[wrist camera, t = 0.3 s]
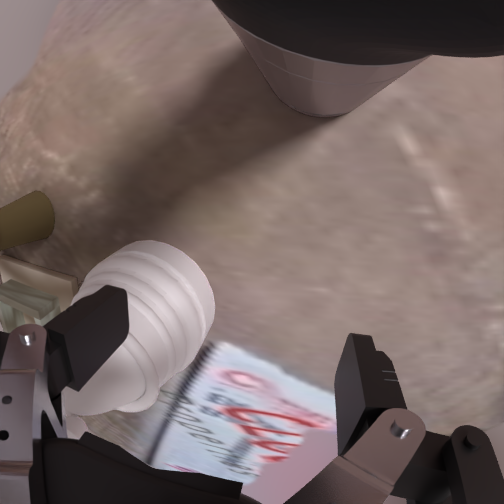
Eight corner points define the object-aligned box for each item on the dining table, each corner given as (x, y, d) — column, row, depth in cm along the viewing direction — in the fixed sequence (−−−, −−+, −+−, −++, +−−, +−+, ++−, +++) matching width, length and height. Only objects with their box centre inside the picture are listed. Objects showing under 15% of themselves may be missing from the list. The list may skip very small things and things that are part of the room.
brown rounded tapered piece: (35, 245, 33) (-28, 277, 23) (19, 202, 31) (-46, 226, 21) (61, 229, 31) (-9, 262, 21) (44, 182, 30) (-29, 203, 19)
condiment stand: (3, 254, 35) (-22, 267, 30) (76, 277, 33) (49, 296, 28) (24, 342, 40) (5, 358, 36) (95, 376, 39) (76, 398, 34)
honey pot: (229, 345, 32) (171, 491, 15) (131, 349, 35) (50, 455, 18) (194, 228, 28) (66, 336, 12) (91, 251, 31) (-32, 332, 15)
